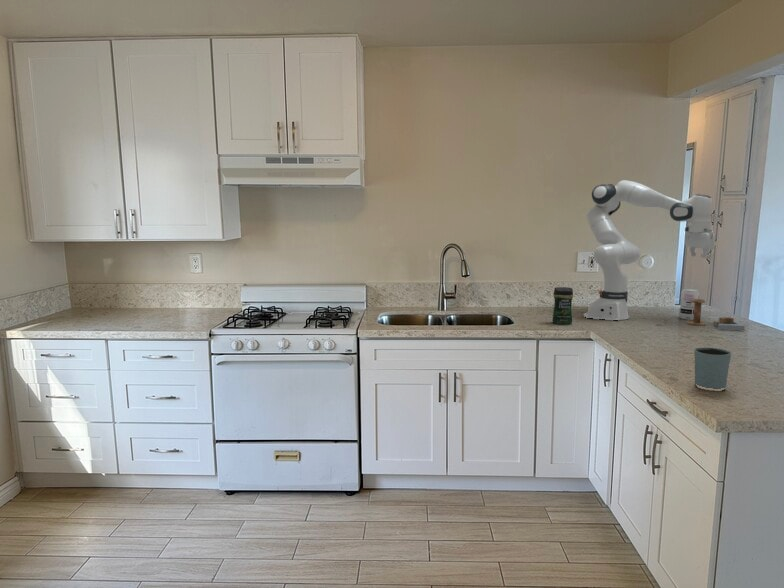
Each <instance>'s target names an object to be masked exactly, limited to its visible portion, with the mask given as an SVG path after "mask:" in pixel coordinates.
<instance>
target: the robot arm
mask: <svg viewBox="0 0 784 588" xmlns="http://www.w3.org/2000/svg"><path fill="white" fill-rule="evenodd" d="M591 198H592V199H591V200H592V201H593V203H595V205H594V206H593V207H591V208H590V209H588V211H587V213H586V217H587V222H588V224H589V225H588V226H589V227H590V230H591V231H592V233H593V236H594V237H595V239H596V241H597V242H598V243H599V244H601V245H599V246H597V247H596V248H595V249H594V251H593V259H594V261H595V263H596V264H598V266H600V268H601V270H602V273H603V277H604V278H603V282H604V283H603V284H604V285H603V287H604V288H603V289H604V290H601V289H600V290H599V291H598V294H599V297H598V298H597V299H596V300H594V301H593V302H591V303H590V304H589V305H588V309H587V311H586V312H584V313H583V315H584V316H583V318H585V317H586V318H585V319H587V318H593V319H592V320H599V319H605V320H604V321H613V320H618V321H622V320H627V319H630V316H629V311H628V299H629V297H628V296H629V293H628V276H627V274H626V273H624V272H623V271H622V270H621V265H629V264H632V263H635V262H637V261H638V260H639V259H640V257H641V256H640V255H641V251H640V250H641V249H640V248H639V246H638V245H636V244H634V243H633V242H630V241H629V240H628V239H626V238H625V236H623V235H622V234H621V233H620V232H619V230H618V229H617V227H616V225H615V223H614V222H613V220H612V218H611V216H612V214H614V213H616V212H617V211H618V210H619V209H620V207H621V202H626V203H629V204H630V205H633V206H636V207H642V208H660V209H664V210H666V211H669V215H670V218H671V219H672V220H673V221H676V222H680V223H682V222H690V223H689V225H687V226H685V227H684V232H685V233H684V234H685V235H684V245H685V247H687V248H689V252H690V257H696V256H697V252H696V248H697V249H702V253H701V257H700V258H701V259H707V257H708V254H709V251H710V250H714V248H715V242H716V240H715V234H714V232H713V230H712V218H711V217H712V215H713V199H712V197H711V196H710V195H709V194H708V195H707V194H700V193H698V194H693V195H692V196H691V197H690V198H686V199H685V200H680V199H677V198H674V197H670V196H668V195H665V194H663V193H660V192H659V191H656V190H655V189H653V188H651V187H648V186H647V185H645V184H643V183H639V182H636V181H632V180H626V179H622V180H620V181H619V182H618V183H617V184H616V185H614V184H613V183H610V184H609V183H608V184H599V185H596V186H595V187H594V188H593V189H592V192H591Z"/></svg>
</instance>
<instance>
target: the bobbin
mask: <svg viewBox="0 0 784 588" xmlns="http://www.w3.org/2000/svg"><path fill="white" fill-rule="evenodd" d="M691 302H693V303H695V304H694V319H693V320H688V324H689V325H692V326H700V327H701V326H705V325H706V322H705V321H701V320H702V319H701V318H702V304H705V303H706V300H705V299H701V298H699V299H691Z"/></svg>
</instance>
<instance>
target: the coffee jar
mask: <svg viewBox="0 0 784 588" xmlns="http://www.w3.org/2000/svg"><path fill="white" fill-rule="evenodd" d="M573 290H574V289H573V287H569V286H568V287H567V286H560V287H559V286H557V287H556V286H555V287H554V290H553V298H554V305H553V314H552V323H553V324H555V325H566V324H567V325H572V323H573V310H572V307H573V306H572V301H573V297H574V291H573Z"/></svg>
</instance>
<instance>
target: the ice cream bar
mask: <svg viewBox="0 0 784 588" xmlns="http://www.w3.org/2000/svg"><path fill="white" fill-rule="evenodd" d="M718 320H719V322H714V321H713V322H712V324H713V325H714V324H733V322H734V321H735V319H734V318H733V317H731V316H728V317H726V316H719V317H718Z"/></svg>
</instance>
